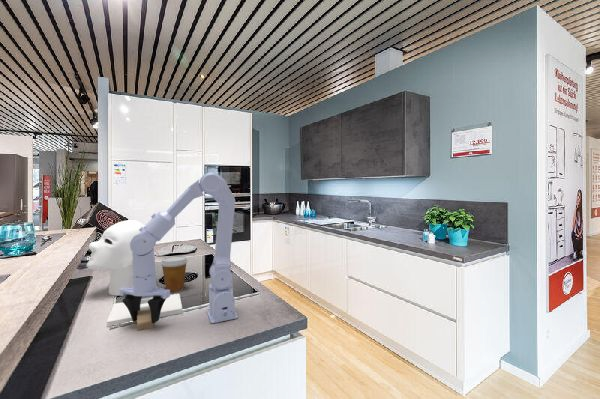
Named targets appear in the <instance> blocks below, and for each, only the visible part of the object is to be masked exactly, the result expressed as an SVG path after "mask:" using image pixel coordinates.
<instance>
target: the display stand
mask: <svg viewBox="0 0 600 399" xmlns="http://www.w3.org/2000/svg"><path fill="white" fill-rule="evenodd" d="M151 299H153V297H144V298H141V304H140V310H146V309H150V307H149V304H148V301H149V300H151ZM181 314H183V305H182V301H181V295H180V293H174V294H170V297H168V298H167V299H166V300H165V302H164V304H163V306H162V309H161V312H160V316H159V318H163V317H164V318H165V317H170V316H174V315H181ZM130 321H133V320H132V318H131V315H130V312H129V310H128V308H127V307H126V305H125V304H124V303H123V301H122V302H117V303H113V304H112V307H111V309H110V312H109V314H108V318H107V320H106V328H110V327H111V326H110V325H114V324H119V323H124V322H130Z"/></svg>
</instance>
